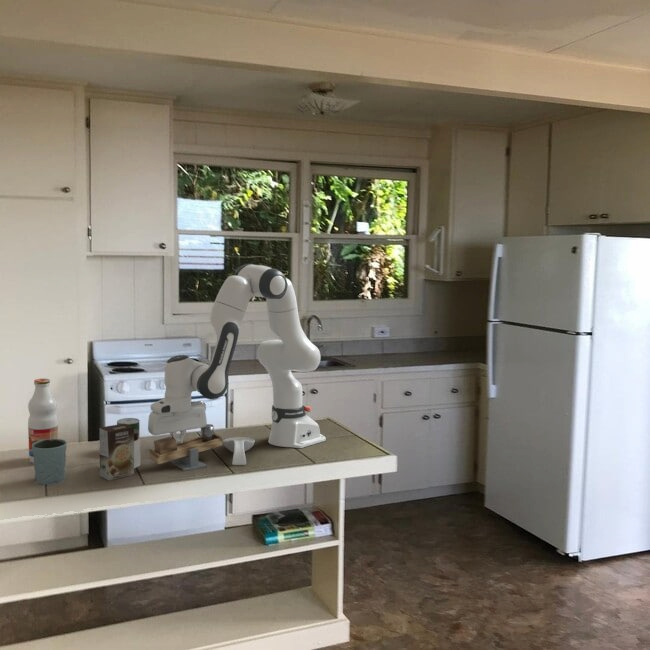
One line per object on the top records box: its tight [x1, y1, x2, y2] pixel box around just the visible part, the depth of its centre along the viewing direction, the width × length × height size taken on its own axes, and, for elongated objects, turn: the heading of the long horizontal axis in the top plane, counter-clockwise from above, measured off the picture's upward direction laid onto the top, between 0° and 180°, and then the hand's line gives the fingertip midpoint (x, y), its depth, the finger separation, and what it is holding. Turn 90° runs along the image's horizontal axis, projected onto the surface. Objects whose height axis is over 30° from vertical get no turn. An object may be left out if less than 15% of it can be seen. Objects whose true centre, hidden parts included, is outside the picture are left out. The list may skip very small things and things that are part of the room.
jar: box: [134, 429, 141, 469], centre depth 238 cm, size 9×8×12 cm
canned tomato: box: [116, 417, 141, 440], centre depth 255 cm, size 8×8×11 cm
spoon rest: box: [222, 436, 256, 466], centre depth 253 cm, size 24×12×7 cm, turn 8°
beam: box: [148, 432, 223, 465], centre depth 242 cm, size 24×9×3 cm, turn 127°
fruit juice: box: [27, 378, 59, 464], centre depth 241 cm, size 9×9×28 cm
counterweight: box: [200, 423, 215, 442], centre depth 247 cm, size 4×4×5 cm
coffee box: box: [99, 424, 135, 481], centre depth 229 cm, size 9×6×16 cm
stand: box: [169, 448, 207, 472], centre depth 243 cm, size 8×14×6 cm, turn 37°
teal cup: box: [32, 438, 67, 486], centre depth 223 cm, size 10×10×12 cm
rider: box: [153, 436, 177, 455], centre depth 238 cm, size 6×5×4 cm
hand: (178, 443), depth 240 cm, fingers closed
